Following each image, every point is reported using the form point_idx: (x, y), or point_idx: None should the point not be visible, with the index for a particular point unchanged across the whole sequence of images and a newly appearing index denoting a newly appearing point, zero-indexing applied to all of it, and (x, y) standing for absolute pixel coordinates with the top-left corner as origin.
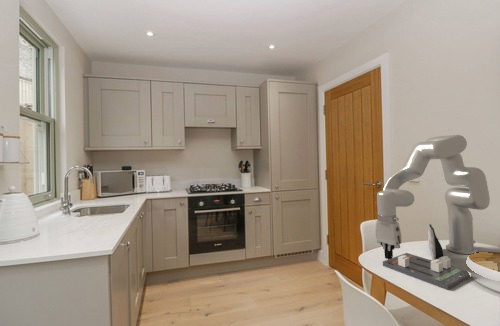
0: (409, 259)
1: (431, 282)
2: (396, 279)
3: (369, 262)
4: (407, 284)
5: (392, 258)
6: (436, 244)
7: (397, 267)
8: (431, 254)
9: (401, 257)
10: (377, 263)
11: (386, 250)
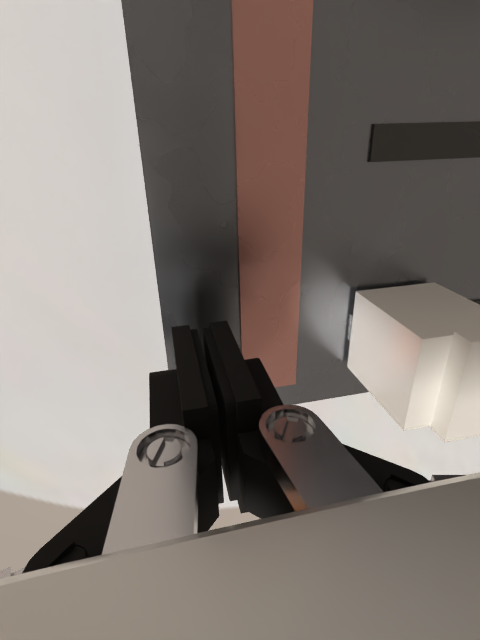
0: (340, 41)
1: None
2: None
3: (28, 444)
4: (465, 457)
5: (167, 247)
6: None
7: (350, 389)
8: None
9: (461, 431)
10: (92, 394)
11: (222, 499)
